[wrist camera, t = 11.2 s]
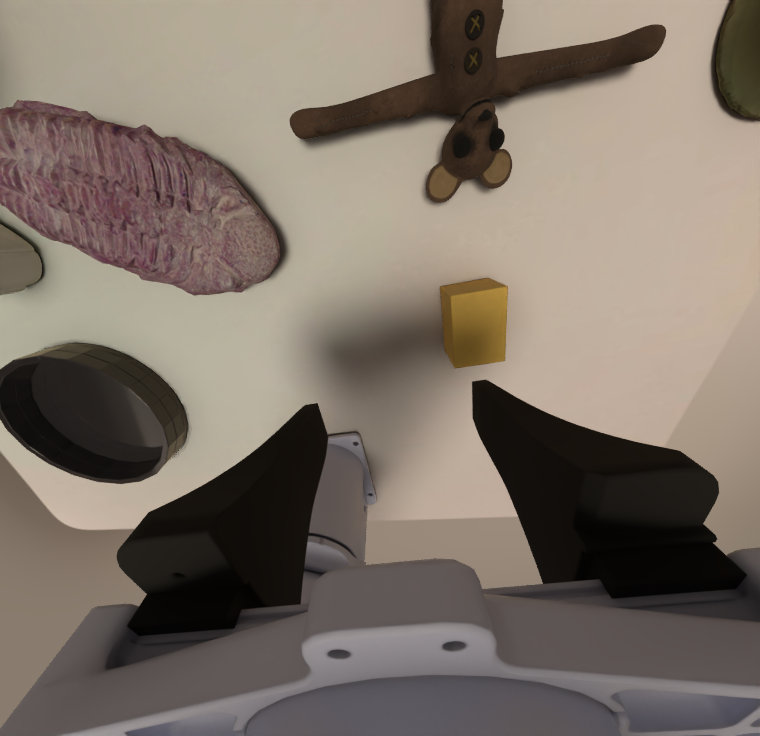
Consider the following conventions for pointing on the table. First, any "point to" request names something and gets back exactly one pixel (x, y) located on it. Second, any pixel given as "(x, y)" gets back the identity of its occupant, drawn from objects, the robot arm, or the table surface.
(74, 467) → the pan
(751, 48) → the olive green flat disc
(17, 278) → the photo printer
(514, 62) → the bear figurine
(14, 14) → the table surface
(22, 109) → the fossil
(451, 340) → the cheese
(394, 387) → the table surface
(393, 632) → the robot arm
